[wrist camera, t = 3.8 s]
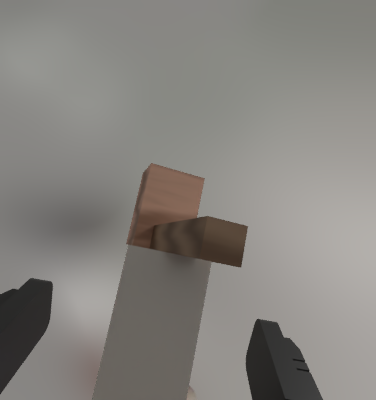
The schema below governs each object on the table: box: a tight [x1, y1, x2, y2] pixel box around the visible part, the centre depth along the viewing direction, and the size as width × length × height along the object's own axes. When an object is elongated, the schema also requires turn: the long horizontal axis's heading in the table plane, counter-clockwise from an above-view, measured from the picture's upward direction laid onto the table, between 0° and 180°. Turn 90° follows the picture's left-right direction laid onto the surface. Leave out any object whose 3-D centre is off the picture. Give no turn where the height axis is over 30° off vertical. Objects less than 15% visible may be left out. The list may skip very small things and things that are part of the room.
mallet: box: [126, 163, 248, 267], centre depth 31 cm, size 23×7×10 cm, turn 18°
